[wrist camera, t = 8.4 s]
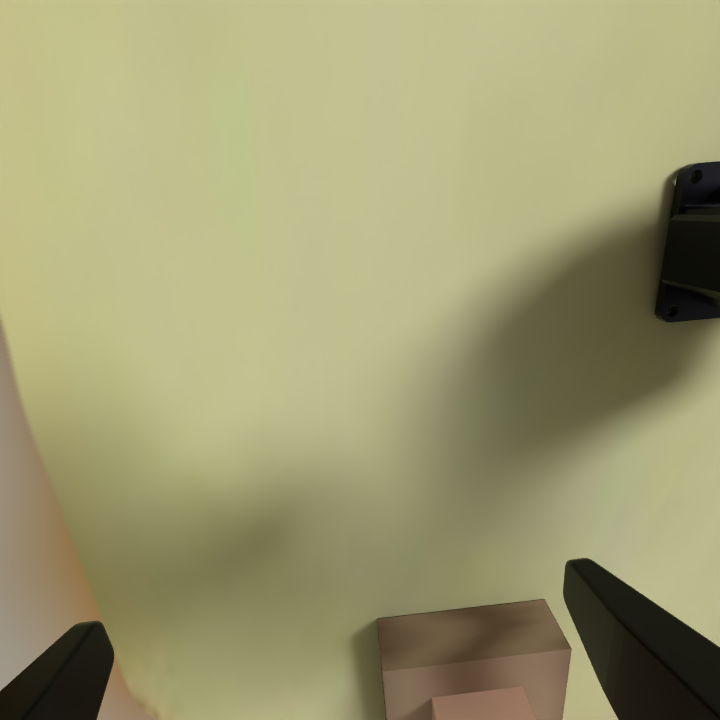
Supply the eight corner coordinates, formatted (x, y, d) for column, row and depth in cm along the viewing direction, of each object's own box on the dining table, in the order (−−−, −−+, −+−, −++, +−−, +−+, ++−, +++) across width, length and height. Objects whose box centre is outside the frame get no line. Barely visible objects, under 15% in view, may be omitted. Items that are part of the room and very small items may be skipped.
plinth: (544, 599, 25) (571, 648, 22) (534, 709, 29) (556, 764, 26) (377, 618, 25) (382, 671, 22) (386, 728, 28) (393, 785, 25)
